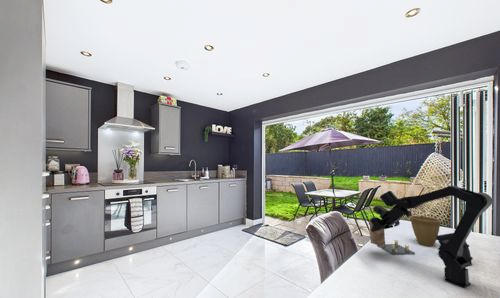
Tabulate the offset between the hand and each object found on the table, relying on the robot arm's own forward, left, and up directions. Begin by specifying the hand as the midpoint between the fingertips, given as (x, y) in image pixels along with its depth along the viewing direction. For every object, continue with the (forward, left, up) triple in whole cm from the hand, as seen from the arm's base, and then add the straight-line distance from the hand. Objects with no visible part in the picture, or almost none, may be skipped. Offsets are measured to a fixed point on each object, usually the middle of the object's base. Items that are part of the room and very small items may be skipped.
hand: (374, 230), depth 121 cm
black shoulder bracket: (-24, -28, -12) cm, 39 cm away
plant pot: (-6, -43, -12) cm, 45 cm away
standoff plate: (-3, -15, -12) cm, 19 cm away
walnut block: (-1, 0, -7) cm, 7 cm away
